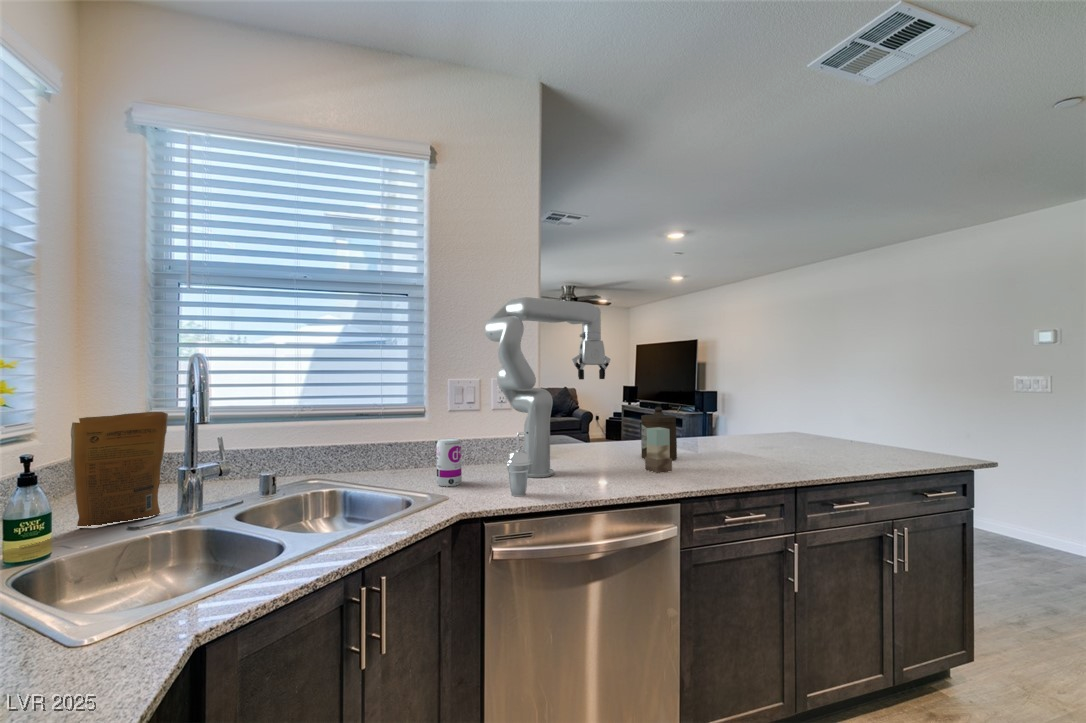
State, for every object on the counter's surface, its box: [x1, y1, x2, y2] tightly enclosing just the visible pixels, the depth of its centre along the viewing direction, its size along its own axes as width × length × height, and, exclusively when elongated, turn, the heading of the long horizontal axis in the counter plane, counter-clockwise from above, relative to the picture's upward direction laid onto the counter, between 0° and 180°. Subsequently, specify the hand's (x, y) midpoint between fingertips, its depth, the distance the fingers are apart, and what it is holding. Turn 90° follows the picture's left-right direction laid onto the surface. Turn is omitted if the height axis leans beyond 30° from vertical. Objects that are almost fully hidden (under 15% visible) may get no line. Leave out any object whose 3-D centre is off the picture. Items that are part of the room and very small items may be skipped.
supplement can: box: [436, 437, 463, 488], centre depth 165 cm, size 8×8×15 cm
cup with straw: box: [504, 431, 532, 497], centre depth 151 cm, size 8×9×20 cm
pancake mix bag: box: [70, 411, 169, 527], centre depth 125 cm, size 7×19×28 cm, turn 137°
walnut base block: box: [644, 457, 673, 474], centre depth 185 cm, size 7×7×5 cm
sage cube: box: [647, 427, 670, 446], centre depth 185 cm, size 6×6×6 cm
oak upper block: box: [647, 444, 670, 460], centre depth 185 cm, size 6×6×5 cm
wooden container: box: [640, 406, 678, 461], centre depth 210 cm, size 15×15×22 cm
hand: (591, 379), depth 199 cm, fingers open, 9 cm apart
